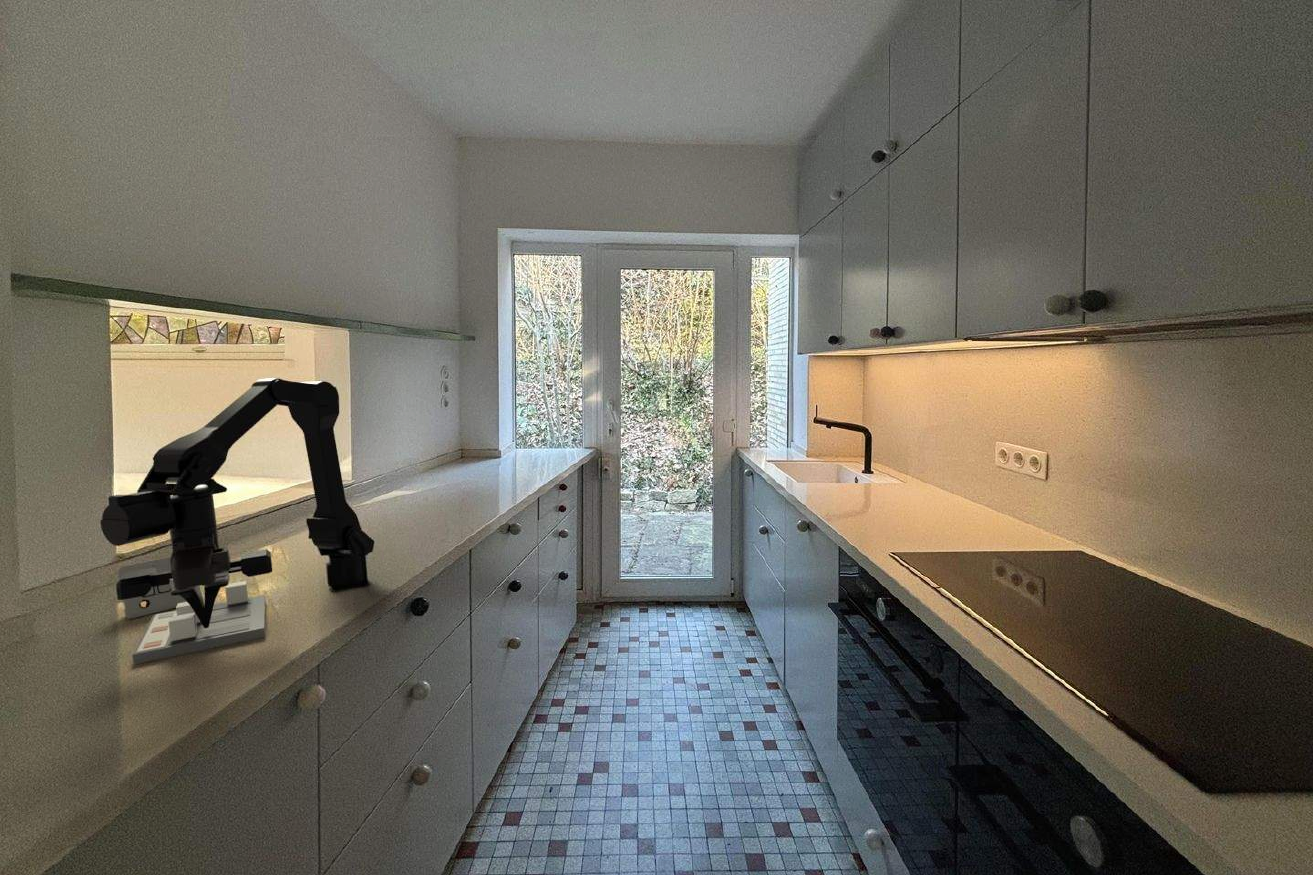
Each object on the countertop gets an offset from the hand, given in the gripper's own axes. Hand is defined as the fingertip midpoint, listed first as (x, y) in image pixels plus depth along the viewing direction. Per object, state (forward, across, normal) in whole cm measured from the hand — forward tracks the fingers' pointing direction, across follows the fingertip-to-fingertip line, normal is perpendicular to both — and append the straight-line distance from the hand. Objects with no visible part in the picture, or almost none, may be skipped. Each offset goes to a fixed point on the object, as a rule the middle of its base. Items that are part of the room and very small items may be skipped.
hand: (206, 627), depth 96 cm
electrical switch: (+3, -10, +25) cm, 27 cm away
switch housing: (+3, -1, +7) cm, 8 cm away
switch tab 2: (+1, -3, 0) cm, 3 cm away
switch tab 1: (+1, -3, +7) cm, 8 cm away
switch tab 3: (+1, +3, +14) cm, 15 cm away
